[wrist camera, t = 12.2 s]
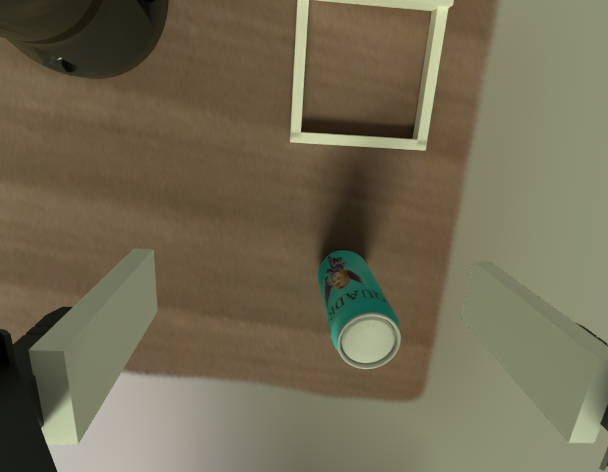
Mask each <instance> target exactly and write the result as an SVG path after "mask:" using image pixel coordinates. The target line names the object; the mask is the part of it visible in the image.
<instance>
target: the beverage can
mask: <svg viewBox="0 0 608 472" xmlns="http://www.w3.org/2000/svg"><path fill="white" fill-rule="evenodd" d="M318 281H319V286H320V290H321V294H322V299H323V303H324V307H325V312H326V316H327V320H328V325H329V329H330V333H331V338H332V341H333V344H334V346H335V348H336V349H337V350H338V351H339V354H340V355H341V357H342V358H343V359H344V361H346V362H347V363H348V364H350V365H351V366H354V367H356V368H361V369H371V368H376V367H379V366H381V365H384V364H385V363H387V362H388V361H390V360H391V359H392V358H393V357H394V356H395V354H396V353H397V351H398V349H399V346H400V341H401V337H400V331H399V323H398V320H397V318H396V316H395V314H394V312H393V310H392V308H391V307H390V305H389V303H388V301H387V300H386V298H385V296H384V294H383V292H382V291H381V289H380V287H379V285H378V284H377V282H376V280H375V278H374V276H373V275H372V273H371V271H370V269H369V268H368V266H367V264H366V262H365V261H364V259H363V258H362V257H361V256H359V255H358V254H356V253H354V252H351V251H346V250H339V251H335V252H333V253H331V254H329V255H328V256H327V257H326V258H325V259H324V260H323V261H322V263H321V265H320V267H319V269H318Z"/></svg>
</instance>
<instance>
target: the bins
mask: <svg viewBox="0 0 608 472" xmlns="http://www.w3.org/2000/svg"><path fill="white" fill-rule="evenodd" d="M318 1H329V2H339V3H350V4H361V5H372V6H383V7H394V8H405V9H416V10H427V11H432V12H431V19H430V26H429V33H428V39H427V46H426V53H425V59H424V66H423V73H422V79H421V86H420V93H419V99H418V106H417V113H416V120H415V126H414V133H413V139H407V138H391V137H376V136H360V135H344V134H328V133H313V132H301V121H302V104H303V88H304V71H305V54H306V37H307V21H308V4H309V0H297V12H296V32H295V51H294V70H293V90H292V109H291V129H290V142H295V143H311V144H328V145H344V146H361V147H377V148H393V149H410V150H426V143H427V137H428V131H429V125H430V119H431V112H432V106H433V100H434V94H435V87H436V81H437V75H438V69H439V63H440V56H441V50H442V44H443V38H444V32H445V25H446V19H447V13H448V8H449V7H451V6H452V5H453V2H454V0H318Z"/></svg>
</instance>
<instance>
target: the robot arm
mask: <svg viewBox="0 0 608 472" xmlns="http://www.w3.org/2000/svg"><path fill="white" fill-rule="evenodd" d="M167 6H168V0H0V37H3V38H6V39H7V40H8V41H9V42H11V43H12V44H13V45H14V46H15V47H17V48H18V49H19V50H20V51H21V52H23V53H24V54H25V55H27V56H28V57H29V58H31V59H33V60H34V61H36V62H37V63H39V64H41V65H43V66H45V67H47V68H49V69H52V70H54V71H57V72H60V73H63V74H67V75H71V76H77V77H83V78H92V79H100V78H109V77H114V76H117V75H120V74H123V73H125V72H128V71H129V70H131V69H133V68H134V67H136V66H137V65H139V64H140V63H141V62H142V61H143V60H145V59H146V58H147V56H148V55H149V54H150V53H151V52H152V50H153V49H154V47H155V46H156V44H157V42H158V40H159V38H160V36H161V34H162V31H163V28H164V25H165V21H166V15H167ZM156 313H157V297H156V281H155V265H154V249H133V250H132V251H131V252H130V253H128V254H127V255H126V256H125V257H124V258H123V259H122V260H121V261H120V262H119V263H118V264H117V265H116V266H115V267H114V268H113V269H112V270H111V271H110V272H109V273H108V274H107V275H106V276H105V277H104V278H103V279H102V280H101V281H100V282H98V283H97V284H96V285H95V286H94V287H93V288H92V289H91V290H90V291H89V292H88V293H87V294H86V295H85V296H84V297H83V298H82V299H81V300H80V301H79V302H78V303H77V304H76V305H75V306H74V307H61V308H59V309H57V310H55V311H53V312H51V313H49V314H47V315H46V316H45V317H44V318H42V319H41V320H40V321H39V322H38V323H37V324H36V325H35V327H32V328H31V329H30V330H29V331H28V332H27V333H26V335H23V336H22V337H21V338H20V339H19V340H18V341H17V342H15V343H14V344H12V339H11V334H10V333H9V332H8V331H6V330H3V329H0V472H57V470H56V467H55V464H54V462H53V459H52V456H51V454H50V451H49V449H48V446H47V444H79V442H80V440H81V439H82V437H83V435H84V434H85V432H86V430H87V429H88V427H89V425H90V424H91V422H92V420H93V419H94V417H95V415H96V414H97V412H98V410H99V409H100V407H101V405H102V403H103V402H104V400H105V399H106V397H107V395H108V393H109V392H110V390H111V388H112V387H113V385H114V383H115V382H116V380H117V378H118V377H119V375H120V373H121V372H122V370H123V368H124V367H125V365H126V363H127V362H128V360H129V358H130V357H131V355H132V353H133V352H134V350H135V348H136V347H137V345H138V343H139V342H140V340H141V338H142V336H143V335H144V333H145V331H146V330H147V328H148V326H149V325H150V323H151V321H152V320H153V318H154V316H155V315H156ZM461 320H462V321H463V322H464V323H465V324H466V325H467V326H468V328H469V329H470V330H471V331H472V332H473V333H474V335H475V336H476V337H477V338H478V339H479V340H480V341H481V343H482V344H483V345H484V346H485V347H486V348H487V349H488V351H489V352H490V353H491V354H492V355H493V356H494V358H495V359H496V360H497V361H498V362H499V363H500V365H501V366H502V367H503V368H504V369H505V370H506V371H507V373H508V374H509V375H510V376H511V377H512V378H513V379H514V381H515V382H516V383H517V384H518V385H519V386H520V387H521V388H522V390H523V391H524V392H525V393H526V394H527V395H528V397H529V398H530V399H531V400H532V401H533V402H534V404H535V405H536V406H537V407H538V408H539V409H540V411H541V412H542V413H543V414H544V415H545V416H546V418H547V419H548V420H549V421H550V422H551V423H552V424H553V425H554V427H555V428H556V429H557V430H558V431H559V432H560V434H561V435H562V436H563V437H564V438H565V439H566V441H567V442H568V443H594V442H595V439H596V437H597V434H598V432H599V429H600V426H601V425H602V426H603V427H604V428H605V429H606V430H607V431H608V345H607V343H606V342H604V341H603V340H602V339H600V338H598V337H596V335H594V334H593V333H592V332H590V331H589V330H588V329H586V328H585V327H583V326H581V325H579V324H577V323H575V322H573V321H572V320H570V319H569V318H568V317H566V316H565V315H563V314H562V313H561V312H559V311H558V310H557V309H555V308H554V307H553V306H551V305H550V304H548V303H547V302H546V301H544V300H543V299H541V298H540V297H539V296H537V295H536V294H535V293H533V292H532V291H530V290H529V289H528V288H526V287H525V286H523V285H522V284H521V283H519V282H518V281H517V280H515V279H513V278H512V277H511V276H510V275H508V274H507V273H505V272H504V271H503V270H501V269H500V268H499V267H497V266H496V265H494V264H493V263H492V262H475V261H474V262H473V267H472V271H471V275H470V280H469V285H468V289H467V294H466V298H465V303H464V307H463V312H462V316H461ZM42 426H43V429H44V435H45V438H44V435H43V433H42V430H41V428H42ZM606 466H608V448H607V451H606V453H605V455H604V458H603V460H602V463H601V465H600V468H599V469H601V470H605V468H606Z"/></svg>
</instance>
